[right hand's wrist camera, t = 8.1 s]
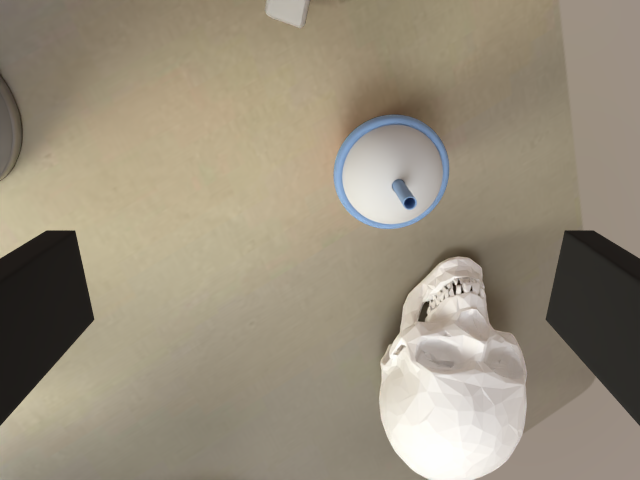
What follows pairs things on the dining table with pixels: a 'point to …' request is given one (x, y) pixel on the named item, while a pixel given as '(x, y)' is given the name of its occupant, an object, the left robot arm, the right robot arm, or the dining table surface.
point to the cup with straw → (391, 171)
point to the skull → (452, 380)
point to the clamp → (288, 11)
